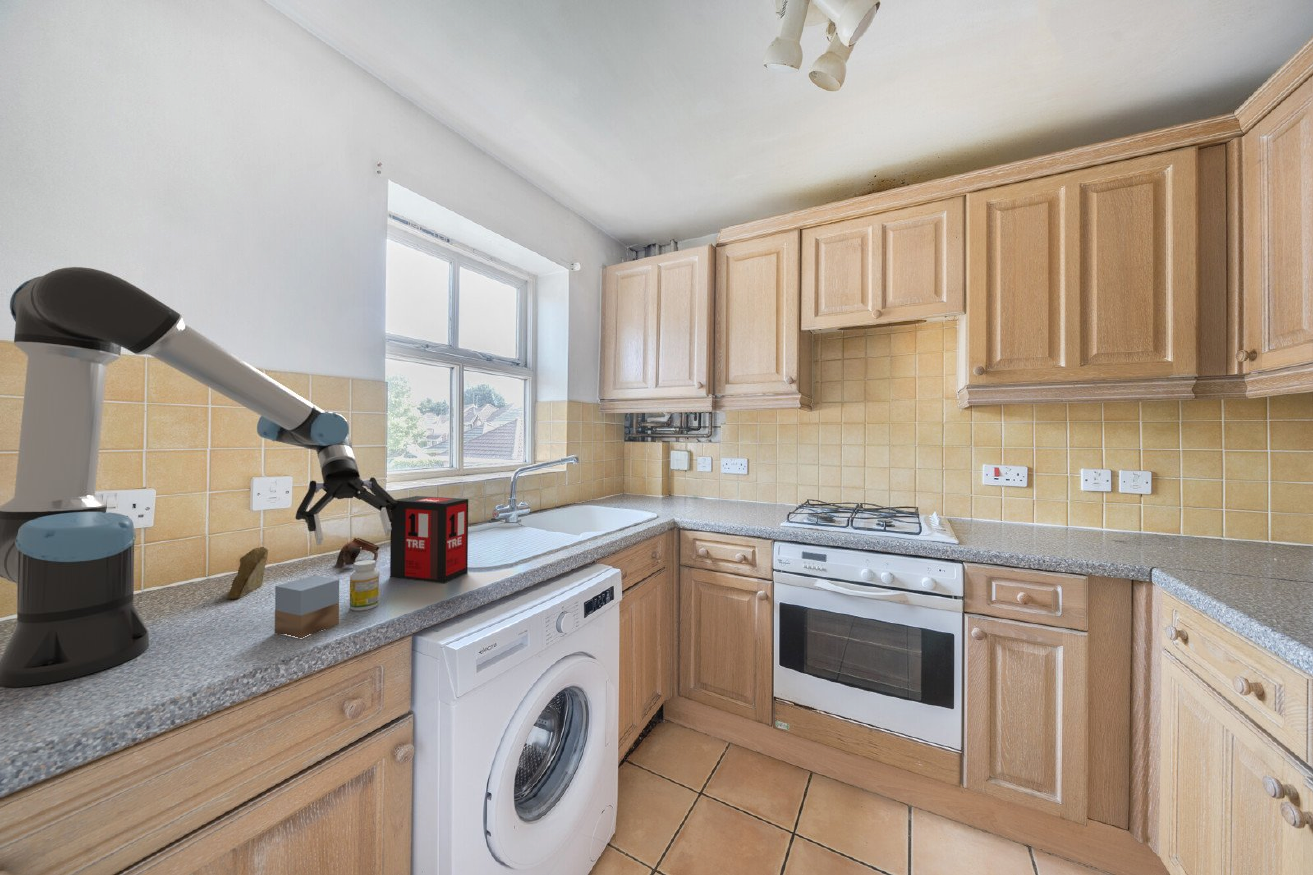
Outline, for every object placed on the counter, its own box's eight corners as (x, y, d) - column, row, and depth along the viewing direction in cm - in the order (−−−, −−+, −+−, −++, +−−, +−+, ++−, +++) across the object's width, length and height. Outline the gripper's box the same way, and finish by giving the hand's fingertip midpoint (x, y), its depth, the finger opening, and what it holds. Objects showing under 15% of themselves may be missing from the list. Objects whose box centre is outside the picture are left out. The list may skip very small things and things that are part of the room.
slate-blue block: (300, 615, 83) (301, 590, 83) (275, 610, 85) (275, 586, 85) (339, 602, 89) (339, 579, 89) (314, 597, 92) (314, 575, 92)
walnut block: (301, 640, 83) (301, 615, 83) (274, 634, 85) (274, 610, 85) (338, 625, 89) (338, 602, 89) (313, 620, 92) (313, 597, 92)
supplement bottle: (375, 609, 97) (375, 564, 97) (345, 612, 95) (346, 566, 95) (381, 600, 102) (382, 558, 102) (353, 603, 100) (354, 559, 100)
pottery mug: (338, 562, 133) (355, 535, 136) (370, 575, 134) (386, 548, 137) (324, 562, 122) (343, 533, 125) (359, 576, 123) (377, 548, 126)
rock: (244, 591, 100) (287, 571, 110) (220, 560, 100) (264, 543, 110) (215, 616, 102) (259, 595, 112) (190, 586, 102) (237, 567, 112)
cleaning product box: (390, 577, 118) (390, 500, 118) (416, 567, 127) (416, 495, 127) (444, 583, 114) (445, 503, 114) (467, 573, 123) (468, 498, 123)
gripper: (390, 474, 126) (409, 537, 116) (273, 480, 108) (284, 555, 98) (397, 456, 123) (417, 519, 113) (277, 459, 104) (289, 535, 94)
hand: (355, 536), depth 105 cm, fingers open, 13 cm apart
